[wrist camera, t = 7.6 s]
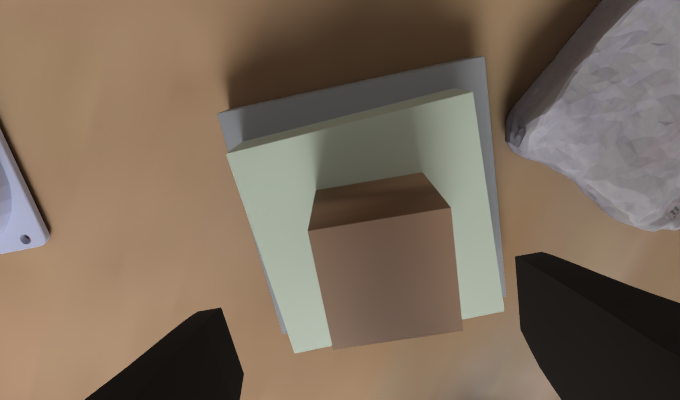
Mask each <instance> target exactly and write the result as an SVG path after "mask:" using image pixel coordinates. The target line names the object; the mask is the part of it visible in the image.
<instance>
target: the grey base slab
mask: <svg viewBox="0 0 680 400" xmlns="http://www.w3.org/2000/svg"><path fill="white" fill-rule="evenodd" d="M453 88H457V89H461V90H466V91H471V92H473V96H474V103H475V110H476V117H477V124H478V131H479V138H480V145H481V152H482V159H483V166H484V173H485V179H486V186H487V193H488V200H489V207H490V214H491V221H492V228H493V235H494V242H495V249H496V256H497V263H498V270H499V277H500V284H501V291H502V297H504V296H506V287H505V276H504V265H503V254H502V243H501V232H500V221H499V210H498V199H497V188H496V177H495V166H494V155H493V144H492V133H491V122H490V111H489V100H488V89H487V78H486V67H485V56H480V57H469V58H464V59H460V60H455V61H450V62H446V63H441V64H436V65H432V66H427V67H422V68H418V69H413V70H409V71H404V72H399V73H395V74H390V75H385V76H381V77H376V78H371V79H367V80H362V81H357V82H353V83H348V84H343V85H339V86H334V87H329V88H325V89H320V90H316V91H311V92H306V93H302V94H297V95H292V96H288V97H283V98H278V99H274V100H269V101H264V102H260V103H255V104H250V105H246V106H241V107H236V108H232V109H228V110H225V111H223V112H220V113H218V114H217V115H218V119H219V122H220V125H221V129H222V132H223V135H224V139H225V142H226V145H227V149H228V152H229V151H231V150H232V149H233V148H235V147H236V146H237V145H239V144H240V143H241V142H243V141H247V140H251V139H255V138H259V137H263V136H267V135H271V134H275V133H279V132H283V131H287V130H291V129H295V128H299V127H303V126H307V125H311V124H314V123H318V122H322V121H326V120H330V119H334V118H338V117H342V116H346V115H350V114H354V113H358V112H362V111H366V110H370V109H374V108H378V107H382V106H386V105H389V104H393V103H397V102H401V101H405V100H409V99H413V98H417V97H421V96H425V95H429V94H433V93H437V92H441V91H445V90H449V89H453ZM249 223H250V222H249ZM250 226H251V225H250ZM251 229H252V228H251ZM252 233H253V231H252ZM253 236H254V234H253ZM254 240H255V237H254ZM255 243H256V246H257V250H258V253H259V256H260V260H261V263H262V266H263V270H264V273H265V276H266V280H267V283H268V287H269V290H270V293H271V297H272V300H273V303H274V307H275V310H276V313H277V317H278V320H279V324H280V327H281V330H282V334H286V333H287V330H286V327H285V324H284V321H283V318H282V315H281V312H280V309H279V306H278V304H277V301H276V298H275V295H274V292H273V289H272V286H271V283H270V280H269V277H268V274H267V272H266V269H265V266H264V263H263V260H262V257H261V254H260V251H259V248H258V245H257V242H256V240H255Z"/></svg>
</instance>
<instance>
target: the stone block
mask: <svg viewBox="0 0 680 400" xmlns="http://www.w3.org/2000/svg"><path fill="white" fill-rule="evenodd" d="M505 141H506V143H507V144H508V146H509V147H510V149H511V151H512V152H514V153H516V154H518V155H520V156H521V157H523V158H526V159H530V160H536V161H538V162H541V163H543V164H545V165H547V166H549V167H550V168H552V169H554V170H556V171H557V172H558V173H562V174H564V175H566V176H567V177H569V178H570V179H571V180H573V181H574V182H575V183H576V184H577V185H578V186H579V188H580V189H581V191H582V192H583V193H584V194H586V195H587V196H588V197H589V198H591V199H592V200H593V201H594V202H596V203H597V205H598V206H599V207H600V208H601V209H602V210H603V211H604V212H605V213H606V214H608V215H609V216H610V217H612V218H614V219H616V220H618V221H620V222H622V223H625V224H628V225H632V226H635V227H637V228H640V229H643V230H648V231H653V232H655V231H657V230H660V229H668V230H678V229H680V0H601V1H600V3H599V4H598V5H597V6H596V7H595V9H594V10H593V11H592V13H591V14H590V15H589V17H588V18H587V19H586V20H585V21H584V22H583V24H582V25H581V26H580V27H579V28H578V30H577V31H576V32H575V33H574V34H573V35H572V36H571V38H570V39H569V40H568V41H567V43H566V44H565V45H564V46H563V48H562V49H561V50H560V51H559V53H558V54H557V55H556V57H555V58H554V60H553V61H552V62H551V63H550V64H549V65H548V66H547V67H546V68H545V69H544V71H543V72H542V73H541V74H540V76H539V77H538V78H537V79H536V80H535V81H534V83H533V84H532V85H531V86H530V87H529V89H528V90H527V91H526V92H525V93H524V94H523V96H522V97H521V98H520V100H519V101H518V102H517V103H516V104H515V105H514V106H513V108H512V109H511V111H510V113H509V115H508V117H507V119H506V134H505Z"/></svg>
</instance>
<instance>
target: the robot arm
mask: <svg viewBox="0 0 680 400" xmlns="http://www.w3.org/2000/svg"><path fill="white" fill-rule="evenodd" d="M26 235H27V236H29V237H30V239H31V241H30V240H28V239H27V237H26ZM49 239H50V235H49V232H48V230H47V228H46V226H45V223H44V221H43V219H42V217H41V215H40V213H39V211H38V208H37V206H36V204H35V202H34V200H33V198H32V196H31V193H30V191H29V189H28V187H27V185H26V183H25V181H24V178H23V176H22V174H21V172H20V170H19V168H18V166H17V163H16V161H15V159H14V157H13V155H12V153H11V151H10V148H9V146H8V144H7V142H6V140H5V138H4V136H3V133H2V131H1V129H0V254H3V253H8V252H13V251H19V250H24V249H29V248H34V247H39V246H42V245H44V244H46V243H47V242H48V241H49ZM515 262H516V275H517V288H518V301H519V315H520V328H521V331H522V333H523V335H524V337H525V339H526V341H527V343H528V345H529V348H530V350H531V351H532V353H533V355H534V357H535V359H536V361H537V363H538V365H539V367H540V368H541V370H542V371H543V373H544V374H545V376H546V378H547V379H548V380H549V382H550V383H551V385H552V386H553V388H554V389H555V391H556V392H557V394H558V395H559V397H560V398H561V400H680V303H678V302H675V301H672V300H669V299H666V298H663V297H660V296H657V295H654V294H652V293H649V292H646V291H643V290H641V289H638V288H635V287H632V286H630V285H627V284H625V283H622V282H619V281H617V280H614V279H612V278H609V277H606V276H604V275H601V274H599V273H596V272H594V271H591V270H589V269H586V268H584V267H581V266H579V265H576V264H574V263H571V262H569V261H566V260H564V259H561V258H559V257H556V256H553V255H550V254H547V253H544V252H538V253H533V254H527V255H521V256H515ZM243 376H244V373H243V370H242V367H241V364H240V361H239V358H238V356H237V353H236V350H235V347H234V344H233V341H232V338H231V335H230V332H229V329H228V326H227V323H226V320H225V317H224V314H223V312H222V309H221V308H216V309H210V310H205V311H199V312H197V313H195V314H193V315H192V316H190V317H189V318H188V319H186V320H185V321H184V322H182V323H181V324H180V325H178V326H177V327H176V328H175V329H173V330H172V331H171V332H170V333H168V334H167V335H166V336H165V337H163V338H162V339H161V340H160V341H159V342H157V343H156V344H155V345H154V346H152V347H151V348H150V349H149V350H147V351H146V352H145V353H144V354H143V355H141V356H140V357H139V358H138V359H136V360H135V361H134V362H133V363H132V364H130V365H129V366H128V367H127V368H125V369H124V370H123V371H121V372H120V373H119V374H117V375H116V376H115V377H113V378H112V379H111V380H110V381H108V382H107V383H106V384H104V385H103V386H102V387H100V388H99V389H98V390H97V391H95V392H94V393H93V394H91V395H90V396H89V397H87V398H86V399H85V400H240V395H241V388H242V382H243Z"/></svg>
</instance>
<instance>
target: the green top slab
mask: <svg viewBox="0 0 680 400" xmlns="http://www.w3.org/2000/svg"><path fill="white" fill-rule="evenodd" d="M226 155H227V158H228V161H229V164H230V167H231V170H232V173H233V176H234V179H235V181H236V184H237V187H238V190H239V193H240V196H241V199H242V202H243V205H244V208H245V211H246V213H247V216H248V219H249V222H250V225H251V228H252V231H253V234H254V237H255V240H256V242H257V245H258V248H259V251H260V254H261V257H262V260H263V263H264V266H265V269H266V272H267V274H268V277H269V280H270V283H271V286H272V289H273V292H274V295H275V298H276V301H277V304H278V306H279V309H280V312H281V315H282V318H283V321H284V324H285V327H286V330H287V333H288V335H289V338H290V341H291V344H292V347H293V350H294V353H299V352H304V351H309V350H314V349H319V348H323V347H328V346H332V342H331V338H330V333H329V328H328V324H327V319H326V314H325V310H324V305H323V300H322V296H321V291H320V286H319V282H318V277H317V273H316V268H315V263H314V259H313V254H312V249H311V245H310V240H309V235H308V226H309V221H310V216H311V211H312V206H313V201H314V196H315V191H316V190H320V189H326V188H332V187H338V186H344V185H350V184H356V183H362V182H368V181H374V180H380V179H386V178H391V177H397V176H403V175H409V174H415V173H421V172H423V173H424V175H425V176H426V177H427V178H428V180H429V181H430V182H431V183H432V185H433V186H434V187H435V188H436V189H437V191H438V192H439V193H440V194H441V196H442V197H443V198H444V199H445V201H446V202H447V203H448V204H449V206H450V207H451V212H452V222H453V233H454V243H455V253H456V264H457V274H458V284H459V295H460V305H461V316H462V319H467V318H472V317H477V316H482V315H487V314H492V313H497V312H502V311H504V304H503V297H502V291H501V284H500V277H499V270H498V263H497V256H496V249H495V242H494V235H493V228H492V221H491V214H490V207H489V200H488V193H487V186H486V179H485V173H484V166H483V159H482V152H481V145H480V138H479V131H478V124H477V117H476V110H475V103H474V96H473V92H471V91H466V90H461V89H457V88H453V89H449V90H445V91H441V92H437V93H433V94H429V95H425V96H421V97H417V98H413V99H409V100H405V101H401V102H397V103H393V104H389V105H386V106H382V107H378V108H374V109H370V110H366V111H362V112H358V113H354V114H350V115H346V116H342V117H338V118H334V119H330V120H326V121H322V122H318V123H314V124H311V125H307V126H303V127H299V128H295V129H291V130H287V131H283V132H279V133H275V134H271V135H267V136H263V137H259V138H255V139H251V140H247V141H243V142H241V143H240V144H239V145H237V146H236V147H235V148H233V149H232V150H231V151H229V152H228V153H227V154H226Z"/></svg>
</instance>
